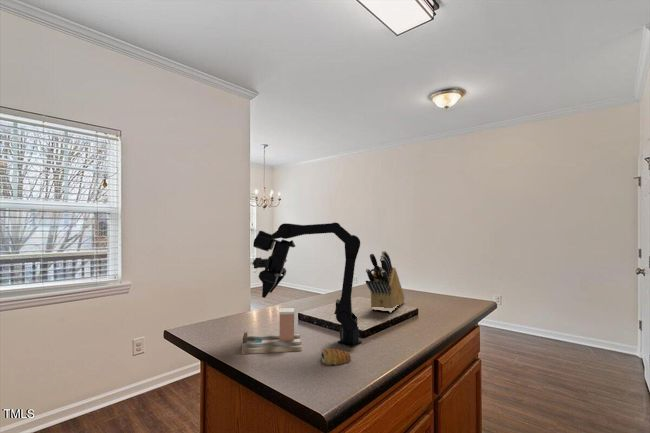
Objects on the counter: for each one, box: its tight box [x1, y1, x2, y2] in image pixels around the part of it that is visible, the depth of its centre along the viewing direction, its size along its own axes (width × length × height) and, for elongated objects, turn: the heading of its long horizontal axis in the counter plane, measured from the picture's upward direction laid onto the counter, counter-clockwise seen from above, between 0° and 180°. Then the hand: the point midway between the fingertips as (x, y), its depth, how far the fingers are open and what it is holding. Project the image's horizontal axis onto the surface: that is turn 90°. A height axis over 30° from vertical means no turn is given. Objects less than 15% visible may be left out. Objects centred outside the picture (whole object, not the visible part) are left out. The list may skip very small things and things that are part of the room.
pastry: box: [320, 348, 352, 366], centre depth 102 cm, size 9×7×4 cm
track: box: [241, 332, 302, 355], centre depth 114 cm, size 20×10×4 cm, turn 98°
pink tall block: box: [278, 307, 295, 342], centre depth 114 cm, size 5×5×11 cm
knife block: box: [365, 250, 405, 308], centre depth 167 cm, size 11×35×31 cm, turn 152°
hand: (266, 294), depth 121 cm, fingers open, 9 cm apart
